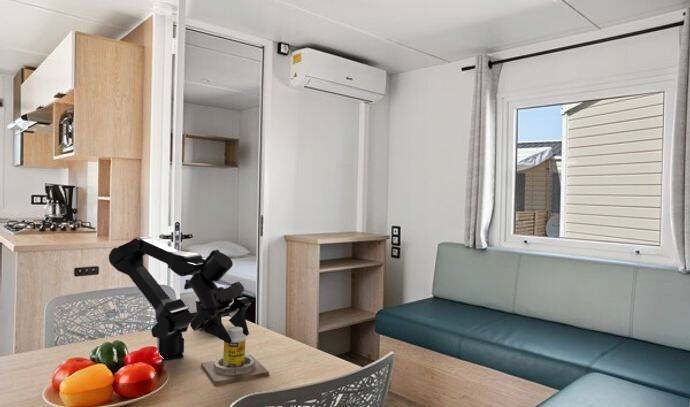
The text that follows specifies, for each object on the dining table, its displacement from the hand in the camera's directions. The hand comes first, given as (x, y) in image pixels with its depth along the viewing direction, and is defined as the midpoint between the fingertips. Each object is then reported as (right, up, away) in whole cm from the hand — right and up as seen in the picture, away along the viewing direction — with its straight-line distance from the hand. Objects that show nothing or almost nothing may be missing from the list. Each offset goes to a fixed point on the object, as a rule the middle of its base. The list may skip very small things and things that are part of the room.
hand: (239, 338), depth 123 cm
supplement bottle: (-2, -8, +1) cm, 8 cm away
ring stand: (-2, -9, +1) cm, 9 cm away
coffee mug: (-18, -8, +39) cm, 43 cm away
